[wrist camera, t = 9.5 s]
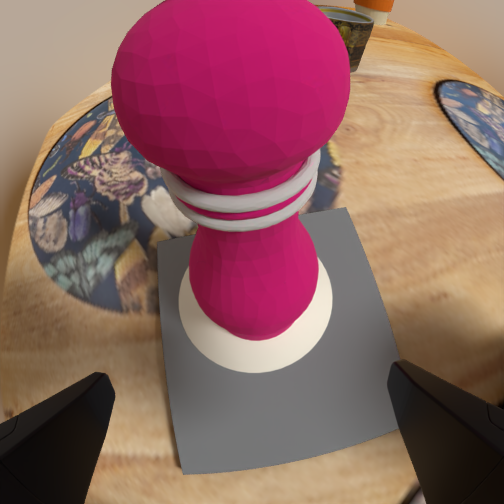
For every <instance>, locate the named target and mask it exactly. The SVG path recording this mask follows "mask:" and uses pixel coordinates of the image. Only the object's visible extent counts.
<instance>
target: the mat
mask: <svg viewBox="0 0 504 504" xmlns="http://www.w3.org/2000/svg"><path fill="white" fill-rule="evenodd" d="M298 219H299V220H300V221H301V223H302V224H303V226H304V227H305V228H306V230H307V231H308V233H309V235H310V237H311V239H312V241H313V244H314V247H315V250H316V254H317V258H318V264H319V273H318V281H317V287H316V291H315V294H314V296H313V299H312V301H311V303H310V304H309V306H308V308H307V309H306V310H305V311H304V313H303V314H302V315H301V316H300V317H299V318H298V319H297V320H295V322H294V323H293V324H292V326H291V327H289V328H288V329H287V330H286V331H285V332H283V333H282V334H280V335H278V336H277V337H274V338H271V339H267V340H261V341H250V340H245V339H242V338H239V337H237V336H235V335H233V334H231V333H230V332H228V331H227V330H226V329H224V328H222V327H220V326H219V325H217V324H216V323H214V322H213V321H212V320H211V319H210V318H209V317H208V316H207V315H205V313H204V312H203V311H202V309H201V308H200V306H199V304H198V303H197V301H196V299H195V296H194V294H193V291H192V288H191V284H190V280H189V258H190V250H191V247H192V244H193V241H194V238H195V235H196V234H194V235H189V236H184V237H179V238H174V239H169V240H164V241H160V242H157V260H158V287H159V305H160V320H161V332H162V344H163V354H164V363H165V371H166V380H167V387H168V395H169V401H170V408H171V414H172V421H173V426H174V432H175V438H176V443H177V448H178V453H179V458H180V463H181V468H182V472H183V475H186V474H209V473H222V472H232V471H241V470H249V469H256V468H262V467H268V466H274V465H279V464H285V463H290V462H294V461H299V460H303V459H307V458H312V457H316V456H319V455H323V454H327V453H330V452H334V451H337V450H341V449H344V448H347V447H350V446H353V445H356V444H359V443H362V442H365V441H368V440H371V439H373V438H376V437H379V436H381V435H384V434H386V433H389V432H391V431H394V430H396V429H399V427H398V424H397V421H396V417H395V414H394V410H393V406H392V403H391V399H390V396H389V392H388V389H387V379H388V375H389V371H390V367H391V364H392V363H393V362H394V361H398V360H400V357H399V353H398V349H397V346H396V342H395V339H394V336H393V332H392V329H391V326H390V323H389V319H388V316H387V313H386V310H385V307H384V304H383V301H382V298H381V295H380V292H379V290H378V287H377V284H376V281H375V278H374V276H373V273H372V270H371V267H370V265H369V262H368V260H367V257H366V254H365V252H364V249H363V247H362V244H361V242H360V239H359V237H358V234H357V232H356V230H355V227H354V225H353V222H352V220H351V218H350V215H349V213H348V211H347V209H346V207H344V208H338V209H332V210H326V211H320V212H314V213H308V214H302V215H298Z"/></svg>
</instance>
